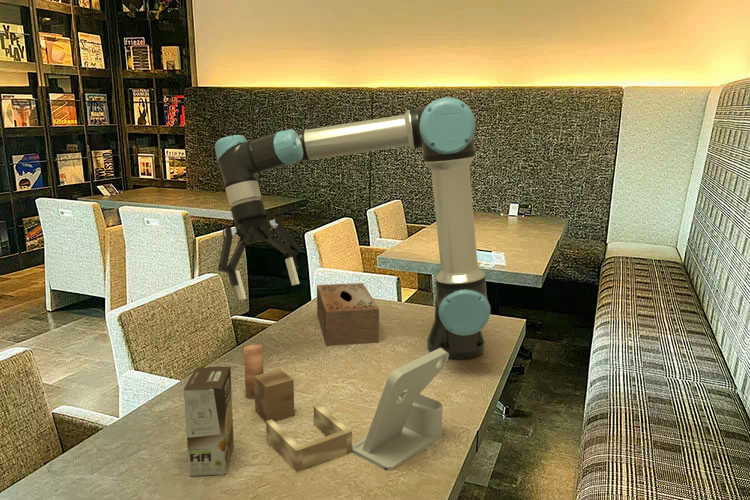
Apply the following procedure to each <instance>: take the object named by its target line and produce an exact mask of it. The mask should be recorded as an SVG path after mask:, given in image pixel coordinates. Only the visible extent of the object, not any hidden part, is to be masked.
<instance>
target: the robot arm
mask: <svg viewBox="0 0 750 500" xmlns="http://www.w3.org/2000/svg"><path fill="white" fill-rule="evenodd" d="M475 132H476V119H475V116H474V113H473V111H472V109H471V108H470V107H469V106H468V104H466V103H465V102H464V101H463V100H461V99H458V98H454V97H451V96H450V97H445V96H444V97H441V98H436V99H435V100H433V101H431V102H430V103H428V105H424V106H421V107H418V108H412V109H408V110H407V111H406V112H405V113H404V114H401V115H394V116H388V117H387V116H386V117H381V118H374V119H367V120H362V121H354V122H349V123H343V124H335V125H329V126H323V127H322V126H321V127H315V128H310V129H305V130H294V129H292V128H291V129H286V130H279V131H277V132H275V133H271V134H269V135H268V134H267V135H265V136H262V137H260V138H257V139H254V140H249V141H248V140H247V139H246V136H245V135H243V134H242V135H241V134H234V135H228V136H225V137H222V138H220V139H218V140H217V141H216V142H215V144H214V150H215V154H216V162H217V164H218V167H219V171H220V174H221V177H222V182H223V185H224V189H225V192H226V196H227V200H228V204H229V205H230V206H231V208H230V212H231V216H232V219H233V223H234V227H230V226H228V227H226V228H224V229H223V230H222V236H223V237H222V238H223V242H222V246H221V247H222V248H221V250H220V257H219V262H218V267H217V270H218V272H223V273H226V274H227V276H228V279H229V283H230V285H231V287H235V290H236V294H237V297H238V301H240V300H245V299H247V296H246V292H245V288H244V284H243V281H242V277H241V273H240V269H239V270H236V268H237V266H238V263H239V262H240V259H241V258H242V255H243V253H244V250H245V249H246V246H247V245H248V244H249V245H250V244H254V243H260V242H263V241H264V242H267V243H269V244H270V245H272V246H273V247H274V248H275V249H276V250H278V252H280V253H282V254H283V255H284V256H285V257H287V258H285V259H284V261H285V264H286V268H287V272H288V273H287V274H288V277H289V280H290V283H291V284H290V285H291V286H296V285H299V284H300V281H299V277H298V272H297V270H299V264H298V261H297V258H296V257H297V255H298V254H299V253H301V252H302V248H301V246H300V244H298V242H297V241H296V239H294V237H293V236H292V234H290V233H289V231H288V230H287V229H286V228H285V226H284V225H283V222H282V219H281V218H280V217H275V218H274V219H272V220H271V219H270V220H269V219H268V217H267V212H266V208H265V205H264V202H263V200H261V198H262V194H261V191H260V187H259V182H258V179H257V174H260V173H263V172H267V171H269V170H270V171H271V170H275V169H277V168H280V167H284V166H288V165H289V166H290V165H292V164H295V163H300V162H307V161H312V160H319V159H325V158H327V159H328V158H331V157H332V158H333V157H339V156H341V157H342V156H347V155H354V154H360V153H367V152H376V151H380V150H381V151H382V150H390V149H395V148H403V147H407V146H408V147H410V148H411V149H412V150H417V149H418V150H419V149H422V157H423V159H422V160H423V163H424V164H425V165H426V166H427V167H428V168H430V171H431V183H432V191H433V201H434V202H433V203H434V212H435V221H436V229H437V231H436V232H437V233H436V234H437V241H438V243H437V244H438V253H439V260H440V261H439V263H440V265H438V266H437V268H436V273H435V303H434V305H435V306H434V321H433V324H432V327H431V329H430V331H429V334H428V337H427V340H426V341H427V342H426V343H427V345H426V346H427V347H426V348H427V350H428V351H429V353H430V352H432V351H434V350H437V349H439V348H442V349H443V350H445V351H446V352H447V353H449V358H448V359H450V360H451V359H452V360H469V359H475V358H477V357H480V356H482V355H483V354H484V352H485V340H484V336H483V333H482V329H484V327H486V325H487V323H488V322H489V320H490V317H491V304H490V302H489V300H488V295H487V285H486V284H487V282H486V273H485V271H483V270H482V268H481V267H480V266H478V252H477V245H476V244H477V241H476V228H475V219H474V208H473V207H474V206H473V205H474V204H473V194H472V183H471V182H472V181H471V171H470V166H471V163H472V162H473V161H474V159H475V158H476V150H475V149H476V147H475ZM270 228H272V229H274V231H275V232H276V233H277V235H278V236H279V237H280V238H281V239H282V240H280V238H278V237H276V236H275V235H276V234H274V233H273V232H272V231H270ZM235 234H236V235H237V236H238V237H239V240H238V242H237V245H236V247H235V250H234V252H233V254H232V256H231V258H230V252H231V247H232V242H233V238H234V237H235ZM229 258H230V260H229ZM228 262H229V263H228Z"/></svg>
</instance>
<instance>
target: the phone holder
mask: <svg viewBox="0 0 750 500" xmlns="http://www.w3.org/2000/svg"><path fill="white" fill-rule="evenodd" d="M449 359H450V358H449V353H447V352H446V351H445V350H443V349H442V348H439V349H437V350H434V351H432V352H430V351H429V352H428V353H426V354H423V355H422V356H420V357H418V358H416V359H414V360H412V361H410V362H408V363H405V364H404V365H401V366H399V367H397V368H396V369H394V370H393V371H392V372H391V373H390V374H389V376H388V378H387V379H386V382H385V384H384V385H385V386H384V388H383V391H382V393H381V396H380V399H379V401H378V405H377V408H376V410H375V413H374V416H373V418H372V421H371V424H370V427H369V429H368V433H367V435H366V437H364V438H363V439H362V438H361V439H360V440H359V441H357V442H355V443H354V444H352V451H351V452H352V453H353V454H354V455H355V456H358V457H360V458H362V459H364V460H365V461H368V462H369V463H371V464H373V465H374V466H377V467H379V468H380V469H382V470H385V469H387V471H393V470H396V469H397V468H398V467H400V466H402V465H404V463H406V462H407V461H409V460H410V459H412V458H413V457H415V456H416V455H417V454H419V453H420V452H422V451H423V450H425V449H426V448H428V447H429V446H431V445H433V444H434V443H436V442H437V441H438V440H440V439H441V438H443V436H444V430H443V412H444V411H443V410H444V409H443V408H444V407H443V403H441V402H440V401H438V400H436V399H434V398H431V397H429V396H426V395H423V394H421V393H422V392H423V391H424V390H425V388H426V387H427V386H429V384H430V383H431V382H432V381H433V380H434V379H435V378H436V377H437V375H439V373H440V372H441V371H443V369H444V367H446V364H447V362H448V360H449Z"/></svg>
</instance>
